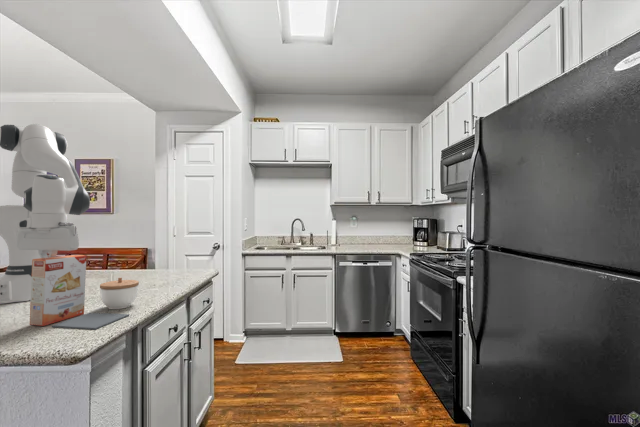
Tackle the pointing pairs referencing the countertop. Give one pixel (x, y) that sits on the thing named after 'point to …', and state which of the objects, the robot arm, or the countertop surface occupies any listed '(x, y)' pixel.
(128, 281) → the lidded bowl
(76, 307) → the cracker box
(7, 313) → the countertop surface
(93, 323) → the mat
